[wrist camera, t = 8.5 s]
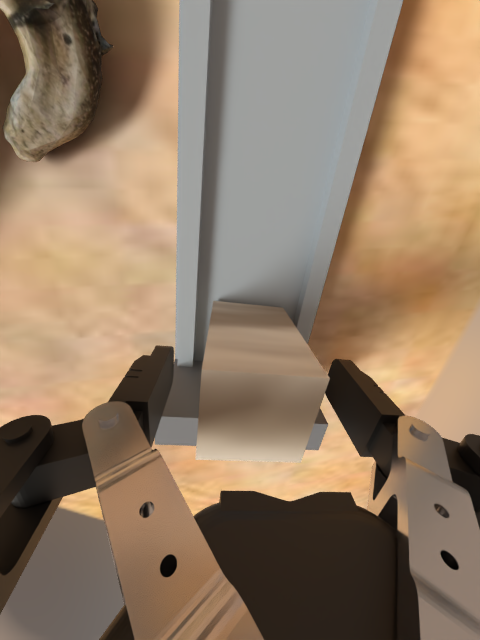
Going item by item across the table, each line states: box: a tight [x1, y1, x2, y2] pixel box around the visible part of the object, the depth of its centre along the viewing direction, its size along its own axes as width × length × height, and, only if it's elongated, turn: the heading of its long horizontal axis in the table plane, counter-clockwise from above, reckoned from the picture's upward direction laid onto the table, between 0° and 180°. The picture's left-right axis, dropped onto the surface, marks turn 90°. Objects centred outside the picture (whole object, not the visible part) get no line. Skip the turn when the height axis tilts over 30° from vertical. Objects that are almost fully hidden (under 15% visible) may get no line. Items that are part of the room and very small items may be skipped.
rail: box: [155, 0, 403, 450], centre depth 11 cm, size 23×9×6 cm, turn 173°
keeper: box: [196, 301, 330, 463], centre depth 12 cm, size 4×4×7 cm
